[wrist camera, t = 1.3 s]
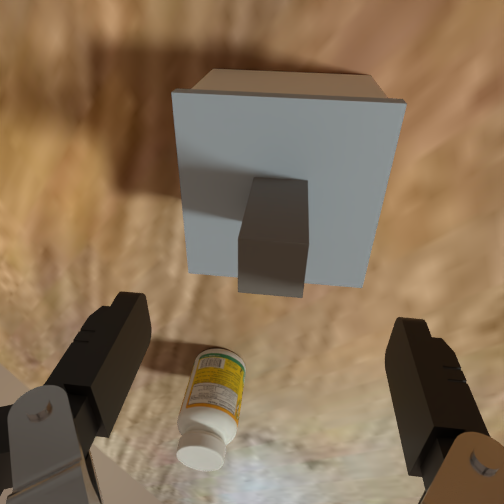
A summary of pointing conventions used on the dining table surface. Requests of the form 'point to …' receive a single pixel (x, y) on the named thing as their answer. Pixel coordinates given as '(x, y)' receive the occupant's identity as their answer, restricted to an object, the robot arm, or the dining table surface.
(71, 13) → the dining table surface
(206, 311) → the dining table surface
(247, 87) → the box
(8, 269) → the dining table surface
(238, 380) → the supplement bottle
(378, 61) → the dining table surface
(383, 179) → the lid
